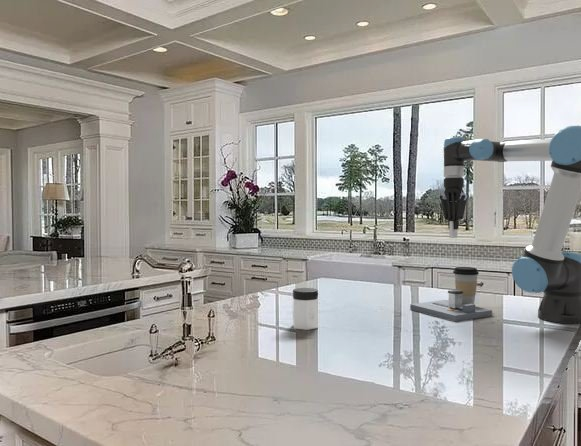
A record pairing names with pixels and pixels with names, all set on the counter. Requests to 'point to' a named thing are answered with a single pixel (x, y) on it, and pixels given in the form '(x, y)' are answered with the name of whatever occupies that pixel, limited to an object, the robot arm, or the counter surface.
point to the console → (451, 310)
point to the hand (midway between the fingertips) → (453, 237)
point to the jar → (305, 308)
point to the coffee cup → (466, 283)
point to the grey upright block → (455, 298)
